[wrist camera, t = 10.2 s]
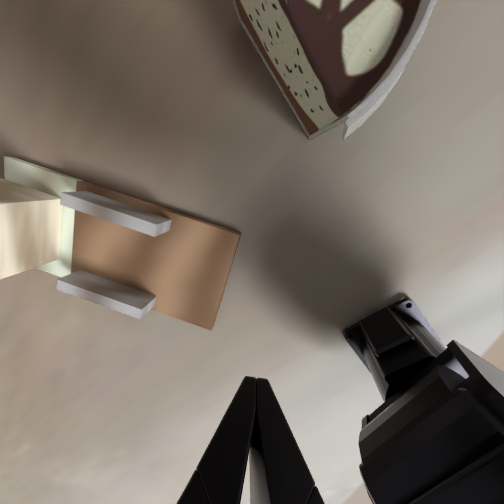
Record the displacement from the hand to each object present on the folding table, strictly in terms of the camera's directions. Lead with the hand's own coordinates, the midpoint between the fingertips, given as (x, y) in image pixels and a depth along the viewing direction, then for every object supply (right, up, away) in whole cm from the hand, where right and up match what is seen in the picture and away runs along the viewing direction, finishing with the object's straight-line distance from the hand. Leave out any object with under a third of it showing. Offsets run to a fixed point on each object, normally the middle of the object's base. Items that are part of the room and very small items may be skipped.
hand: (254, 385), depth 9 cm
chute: (-13, +6, +14) cm, 20 cm away
